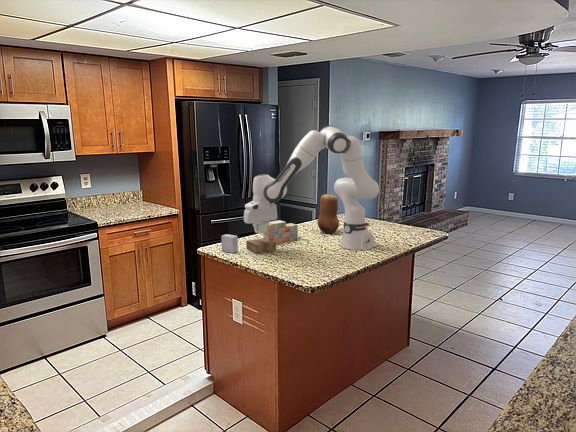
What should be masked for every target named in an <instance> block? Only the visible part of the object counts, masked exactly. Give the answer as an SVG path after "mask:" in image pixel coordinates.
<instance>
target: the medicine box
mask: <svg viewBox="0 0 576 432" xmlns="http://www.w3.org/2000/svg"><path fill="white" fill-rule="evenodd" d="M238 238H239V237H238V235H233V234H223V235H221V239H220V240H221V251H222V252H226V253H232V254H234V253H237V252H238V251H239V242H238V240H239V239H238Z"/></svg>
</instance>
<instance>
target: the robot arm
mask: <svg viewBox="0 0 576 432" xmlns="http://www.w3.org/2000/svg"><path fill="white" fill-rule="evenodd" d="M325 148H326V149H328V151H330V152H331V153H334V154H340V158H341V164H342V165H341V166H342V171H343V173H344V174H345V175H346V176H348V177H342V178H337V180H336V181H335V182H334V184H333V189H334V192H335V194H336V195H337V196H338V197H339V198H340V200H341V202H342V204H343V208H344V221H343V232H342V238H341V241H340V244H341V245H340V247H341V248H343V249H345V250H354V251H368V250H370V249H373V248H375V247H377V245H378V246H379V243H378V242H376V241H375V236H374V234H373V233H372V232H371V231H369V229H368V228H367V227H370V223H369V222H365V220H366V219H365V217H366V210H365V207H364V206H363V205H361V204H360V203H359V202H358V199H359V200H372V199H376V198H377V196H378V194H379V192H380V186H379V183H378V182H377V181H376V180H374V179H373V178H372V177H371V176H370V174H368V172H367V170H366V168H365V165H364V160H363V151H362V148H361V145H360V141H359V139H358V138H357V137H356V136H352V135H347V134H345V133H344V132H343V131H341V129H338V127H336V126H334V125H330V124H329V125H325V126H324V127H322V128H320V129H318V130H315V129H314V130H313V129H312V130H310V131H308V133H307V134H305V135H304V137H302V139H301V140H300V141H299V142H298V144H297V145H296V146H295V148H294V150H293V152H292V153H291V155H290V157H289V159H288V160H287V163H286V165H285V166H284V168H283V169H282V170H281V171H280V173H279V174H278V175H277V177H276V178H273V177H271V176H270V175H269V174H267V173H262V174H258V175H255V176H254V178H253V182H252V193H253V196H252V200H251V201H250V202H248V203H245V204H244V208H245V209H244V211H243V222H244V223H245V224H252V226H253V230H254V232H255V231H257V230H258V227H257V226H256V224H257V223H260V222H263V223H267V224H268V225H269V223H270V222H271V221H277V220H278V209H277V207H278V206H277V204H276V203H278V202H280V201H281V199H283V198H284V196H286V194H288V193H287V192H288V187H287V186H288V184H289V183H290V182H291V180H292V179H293V178H294V177H295V175H296V174H298V173H299V172H300V171H302V170H303V169H305V168H307V167H308V166H309V165H310V164H311V162H313V161H314V159H315V158H316V157H317V155H318V154H319V152H321V151H322V150H323V149H325ZM267 229H268V226H267Z"/></svg>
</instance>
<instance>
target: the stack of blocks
mask: <svg viewBox="0 0 576 432" xmlns="http://www.w3.org/2000/svg"><path fill="white" fill-rule="evenodd" d="M298 227H299V225H298V224H296V223H292V222H290V223H287V221H284V220H281V219H280V220H279V219H277V220H271V221H270V223H269V225H268V229H267V233H263V234H262V236H263V237H262V239H263V238H267V239H269V240H271V241H273V242H275V243H276V245H277V244H283V243H287V242H292V241H297V240H298V236H299V235H298V233H299V231H298V230H299V229H298Z"/></svg>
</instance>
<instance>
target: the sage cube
mask: <svg viewBox="0 0 576 432" xmlns="http://www.w3.org/2000/svg"><path fill="white" fill-rule="evenodd" d="M256 226H257V227H258V230H257V231H255V230H254V233H256V234H259V235H263V233H267V226H268V224H267V223H266V222H264V221H263V222H257V224H256Z"/></svg>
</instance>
